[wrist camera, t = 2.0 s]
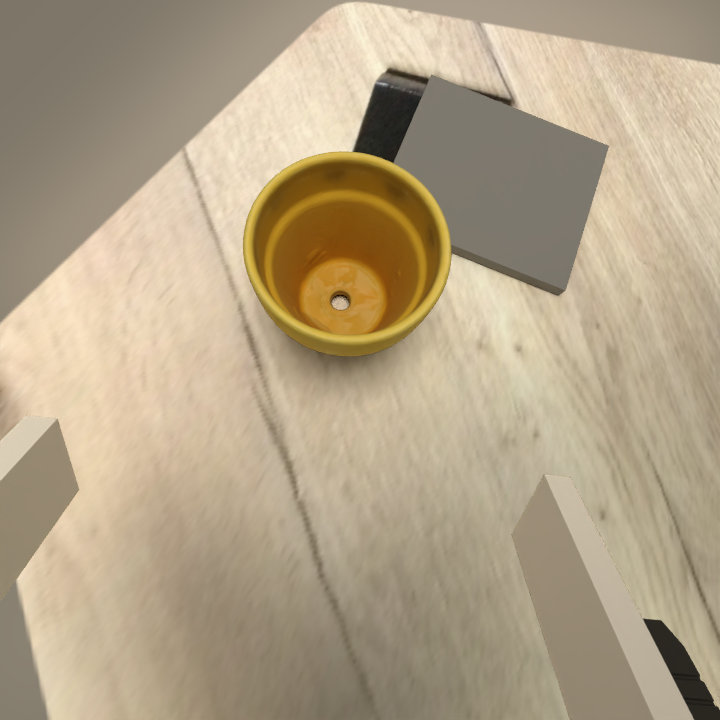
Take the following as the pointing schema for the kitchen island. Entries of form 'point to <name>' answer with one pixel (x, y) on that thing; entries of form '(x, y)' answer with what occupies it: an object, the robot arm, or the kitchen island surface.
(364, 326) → the plant pot
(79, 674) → the kitchen island surface
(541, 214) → the trivet mat
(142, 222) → the kitchen island surface
